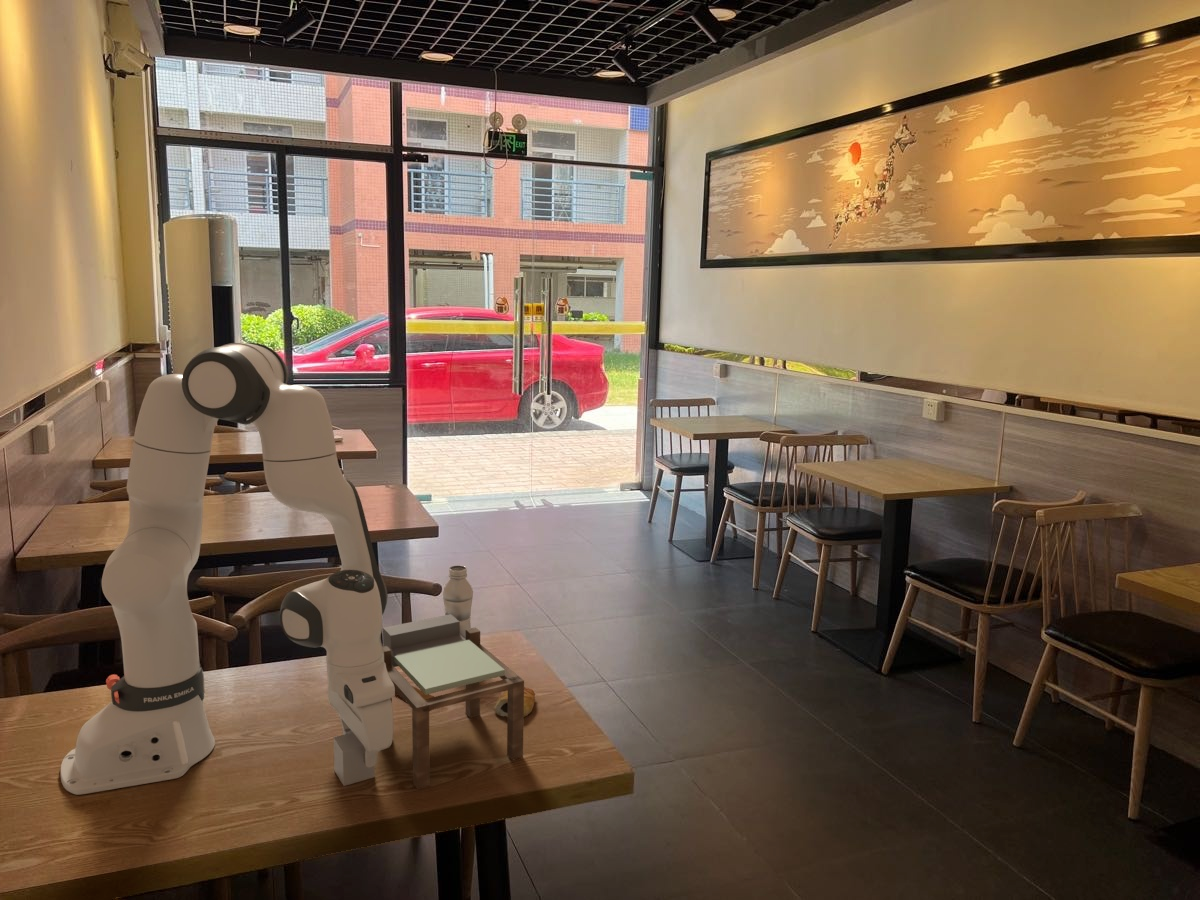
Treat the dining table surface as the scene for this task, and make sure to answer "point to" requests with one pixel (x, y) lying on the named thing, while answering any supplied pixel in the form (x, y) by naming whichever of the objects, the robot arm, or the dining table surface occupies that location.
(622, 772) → the dining table surface
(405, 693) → the stand
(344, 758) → the light grey block
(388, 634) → the trapdoor
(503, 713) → the pastry
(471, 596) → the plastic bottle
